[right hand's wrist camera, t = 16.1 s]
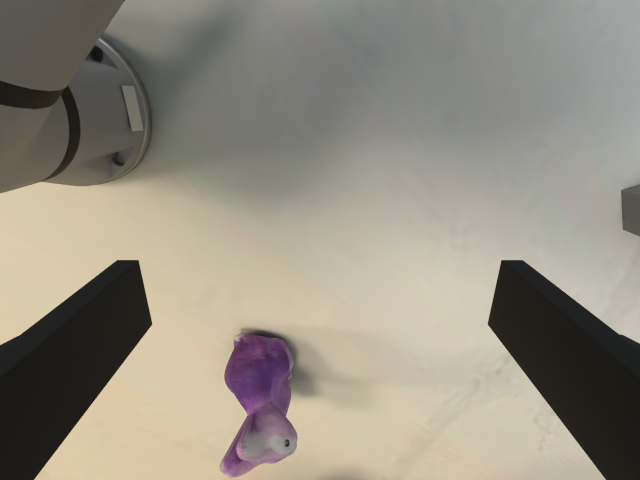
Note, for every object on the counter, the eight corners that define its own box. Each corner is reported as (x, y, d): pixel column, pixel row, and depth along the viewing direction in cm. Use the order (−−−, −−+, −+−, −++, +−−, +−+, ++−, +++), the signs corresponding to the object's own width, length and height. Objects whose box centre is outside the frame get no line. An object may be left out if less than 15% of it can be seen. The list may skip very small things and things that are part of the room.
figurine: (298, 391, 49) (289, 505, 35) (227, 378, 48) (189, 490, 34) (312, 338, 46) (309, 441, 32) (236, 323, 45) (199, 423, 31)
